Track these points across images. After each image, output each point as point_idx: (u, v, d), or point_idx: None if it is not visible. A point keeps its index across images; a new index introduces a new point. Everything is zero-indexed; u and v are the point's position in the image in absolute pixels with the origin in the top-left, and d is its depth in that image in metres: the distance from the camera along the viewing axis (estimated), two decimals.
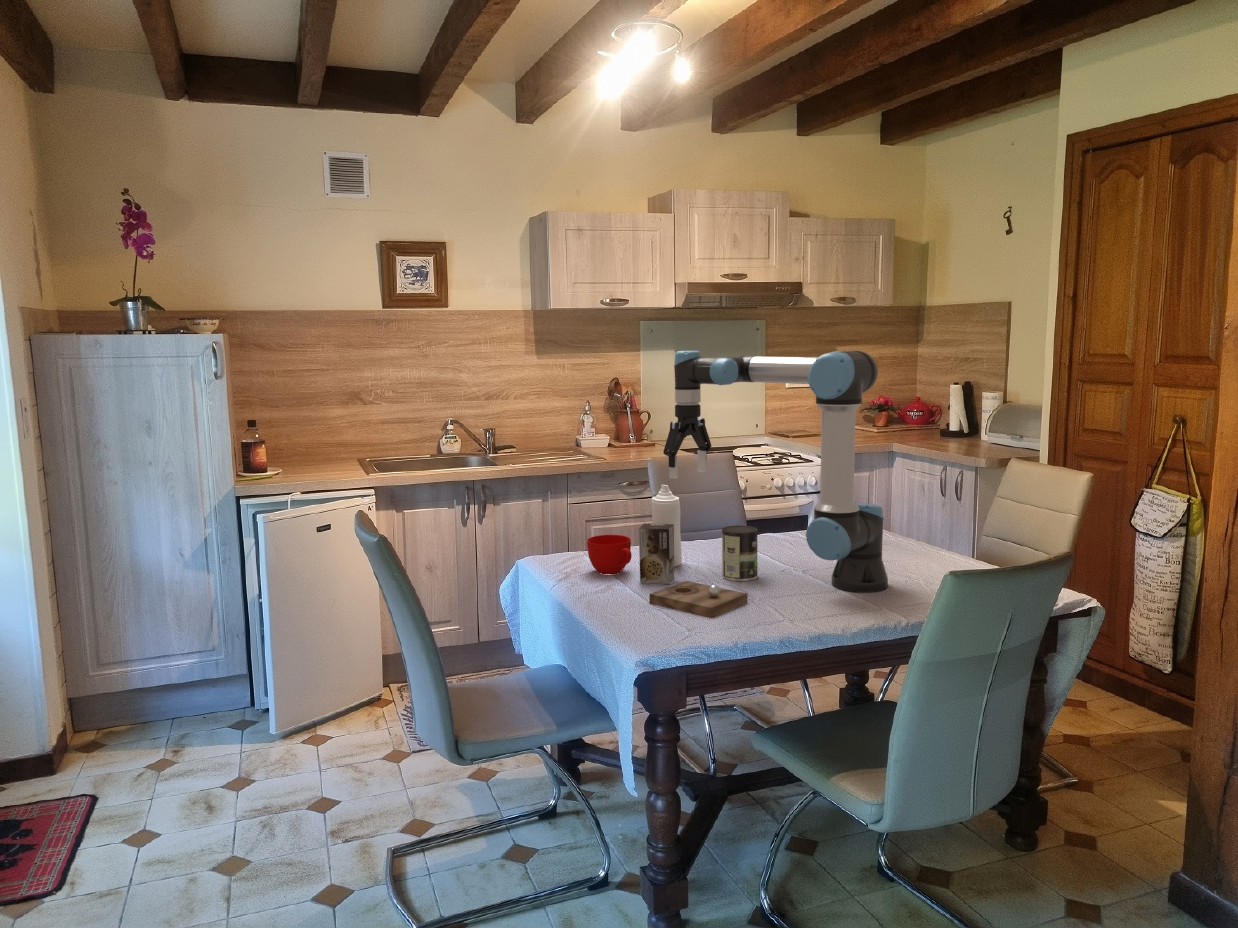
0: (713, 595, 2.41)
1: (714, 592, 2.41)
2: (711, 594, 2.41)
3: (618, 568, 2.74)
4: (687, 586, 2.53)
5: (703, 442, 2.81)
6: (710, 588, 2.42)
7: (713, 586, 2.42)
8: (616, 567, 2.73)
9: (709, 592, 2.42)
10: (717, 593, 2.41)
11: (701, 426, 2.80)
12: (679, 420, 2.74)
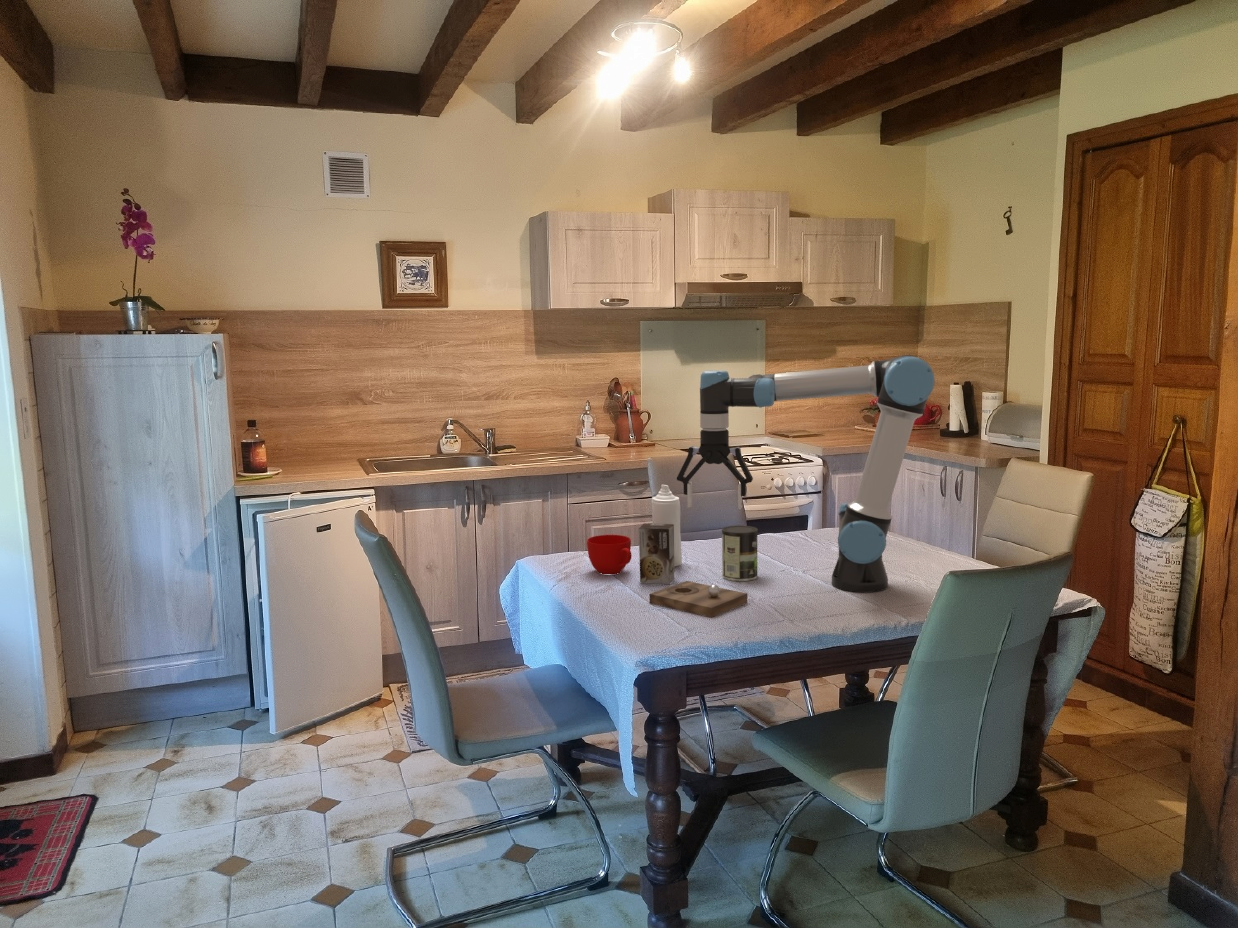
0: (713, 595, 2.41)
1: (714, 592, 2.41)
2: (711, 594, 2.41)
3: (618, 568, 2.74)
4: (687, 586, 2.53)
5: (736, 474, 2.49)
6: (710, 588, 2.42)
7: (713, 586, 2.42)
8: (616, 567, 2.73)
9: (709, 592, 2.42)
10: (717, 593, 2.41)
11: (736, 456, 2.49)
12: None
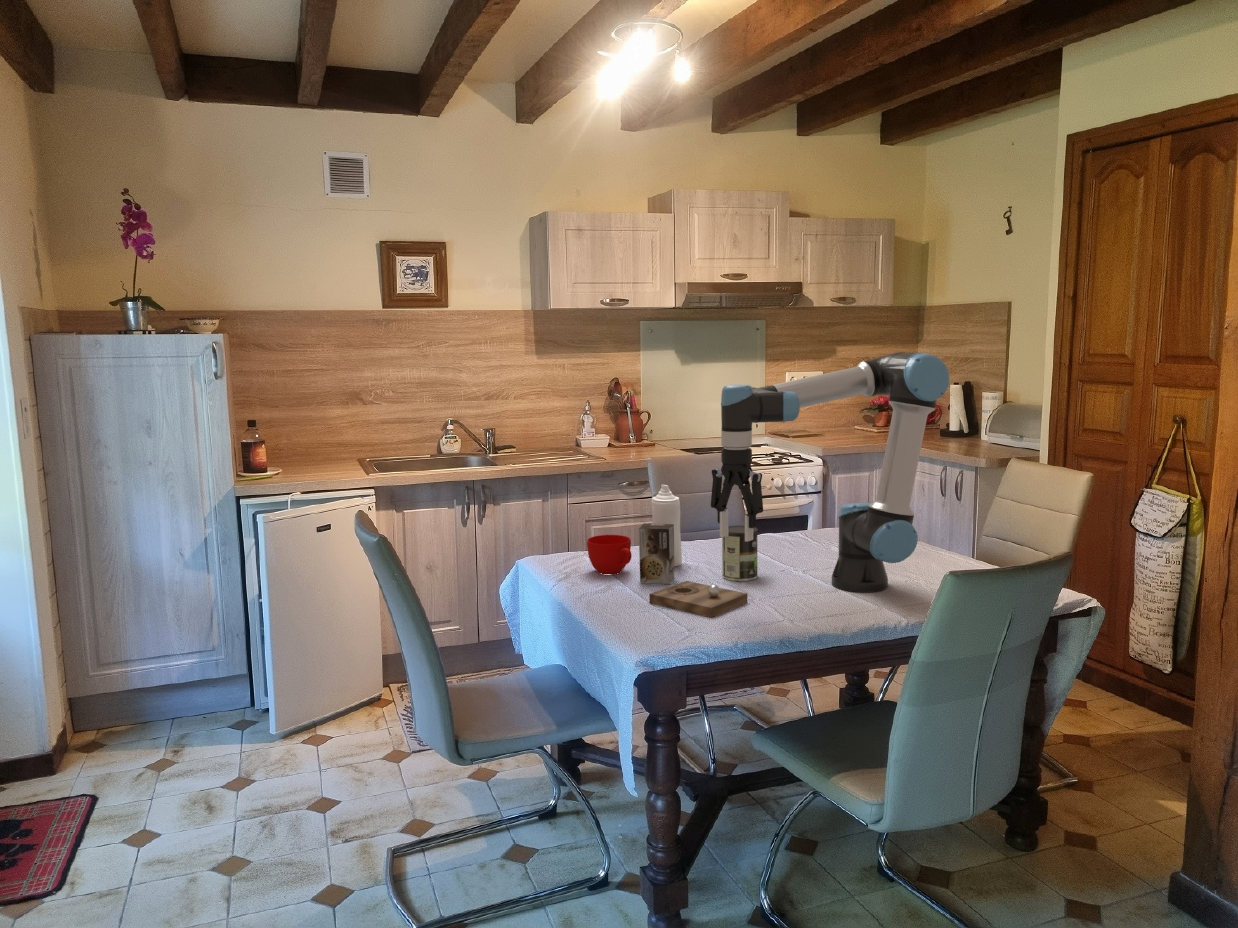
0: (713, 595, 2.41)
1: (714, 592, 2.41)
2: (711, 594, 2.41)
3: (618, 568, 2.74)
4: (687, 586, 2.53)
5: (746, 502, 2.31)
6: (710, 588, 2.42)
7: (713, 586, 2.42)
8: (616, 567, 2.73)
9: (709, 592, 2.42)
10: (717, 593, 2.41)
11: None
12: None
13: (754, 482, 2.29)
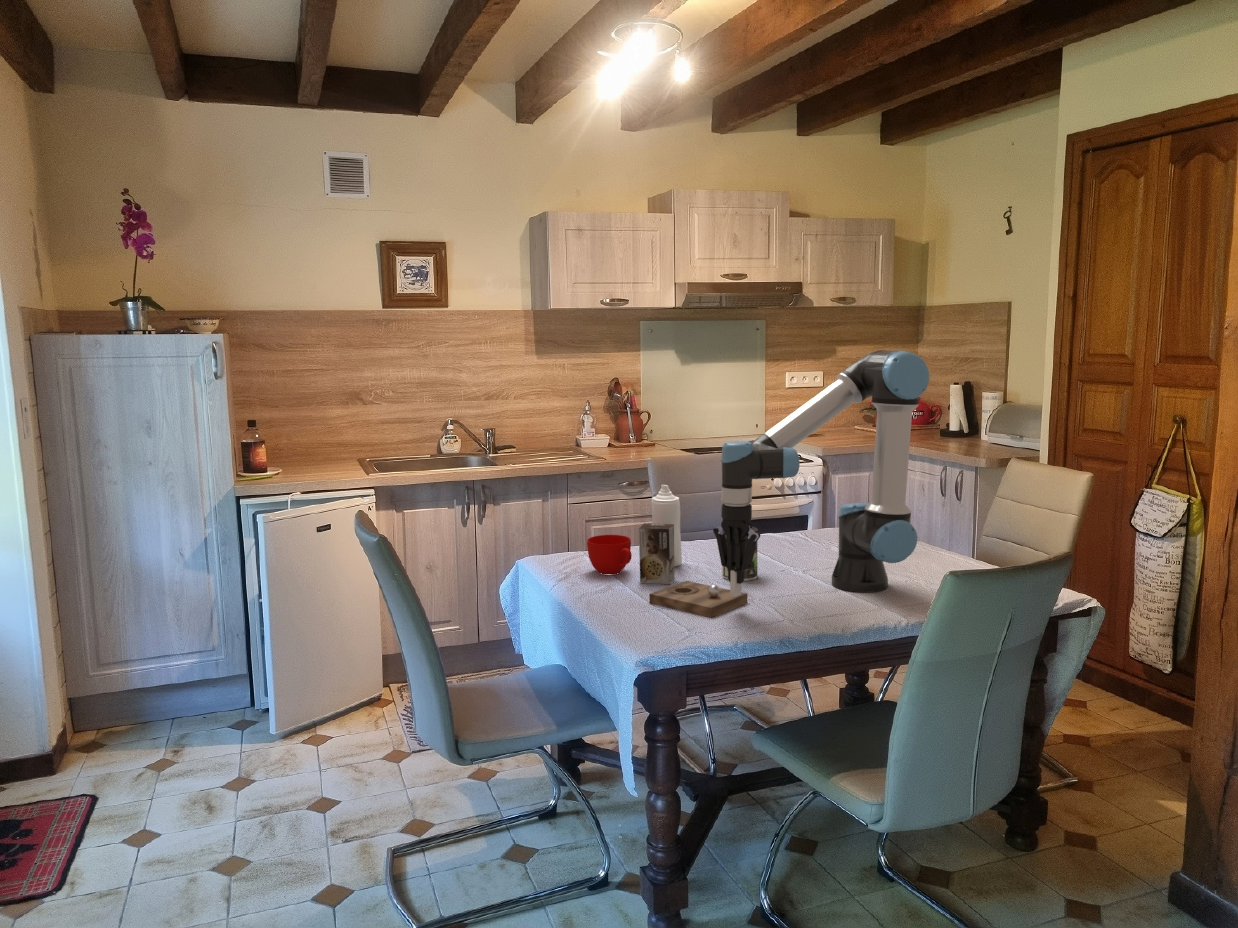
0: (713, 595, 2.41)
1: (714, 592, 2.41)
2: (711, 594, 2.41)
3: (618, 568, 2.74)
4: (687, 586, 2.53)
5: (737, 558, 2.35)
6: (710, 588, 2.42)
7: (713, 586, 2.42)
8: (616, 567, 2.73)
9: (709, 592, 2.42)
10: (717, 593, 2.41)
11: None
12: None
13: (750, 542, 2.32)
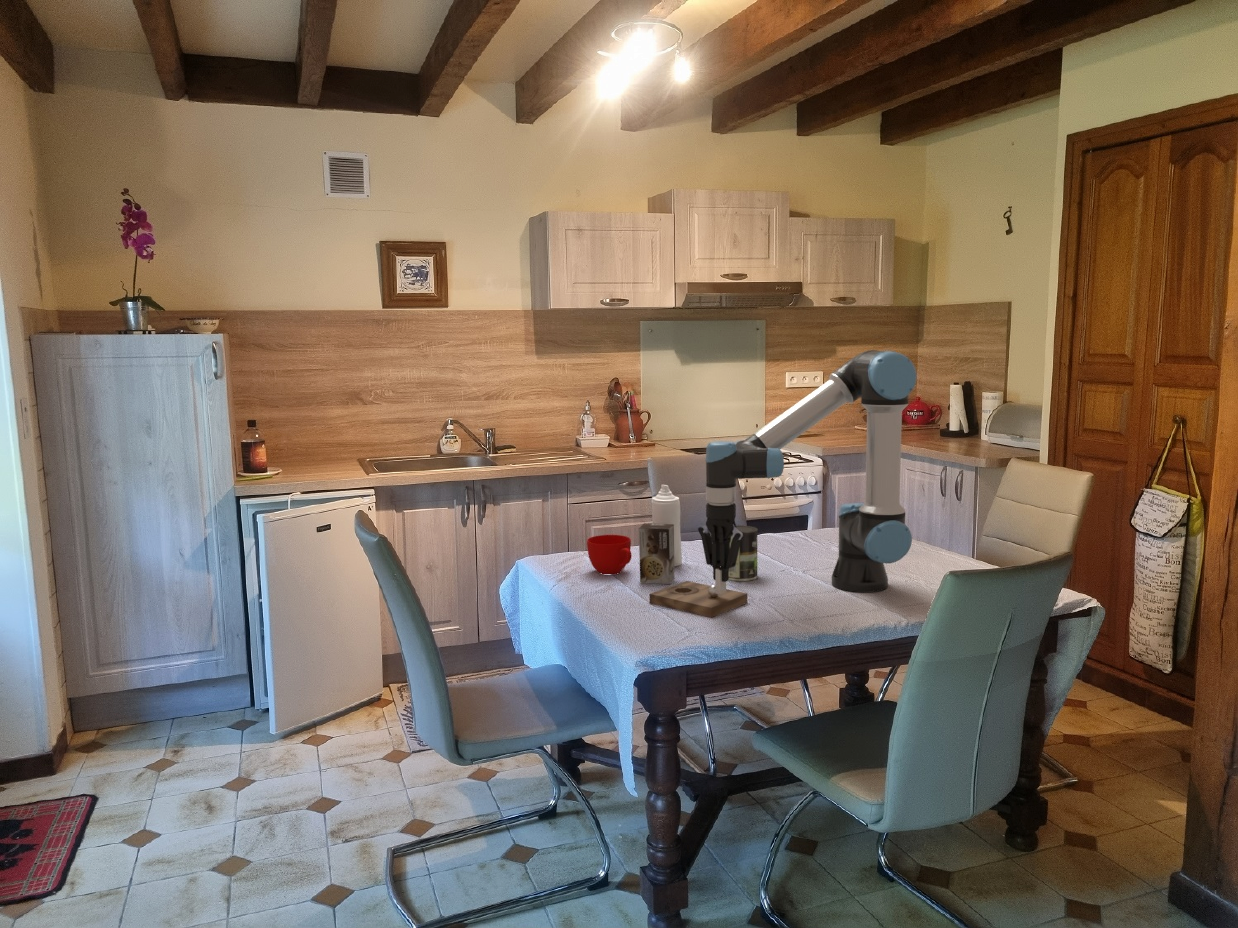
0: (713, 595, 2.41)
1: (714, 592, 2.41)
2: (711, 594, 2.41)
3: (618, 568, 2.74)
4: (687, 586, 2.53)
5: (722, 557, 2.38)
6: (710, 588, 2.42)
7: (713, 586, 2.42)
8: (616, 567, 2.73)
9: (709, 592, 2.42)
10: None
11: None
12: None
13: (735, 540, 2.35)
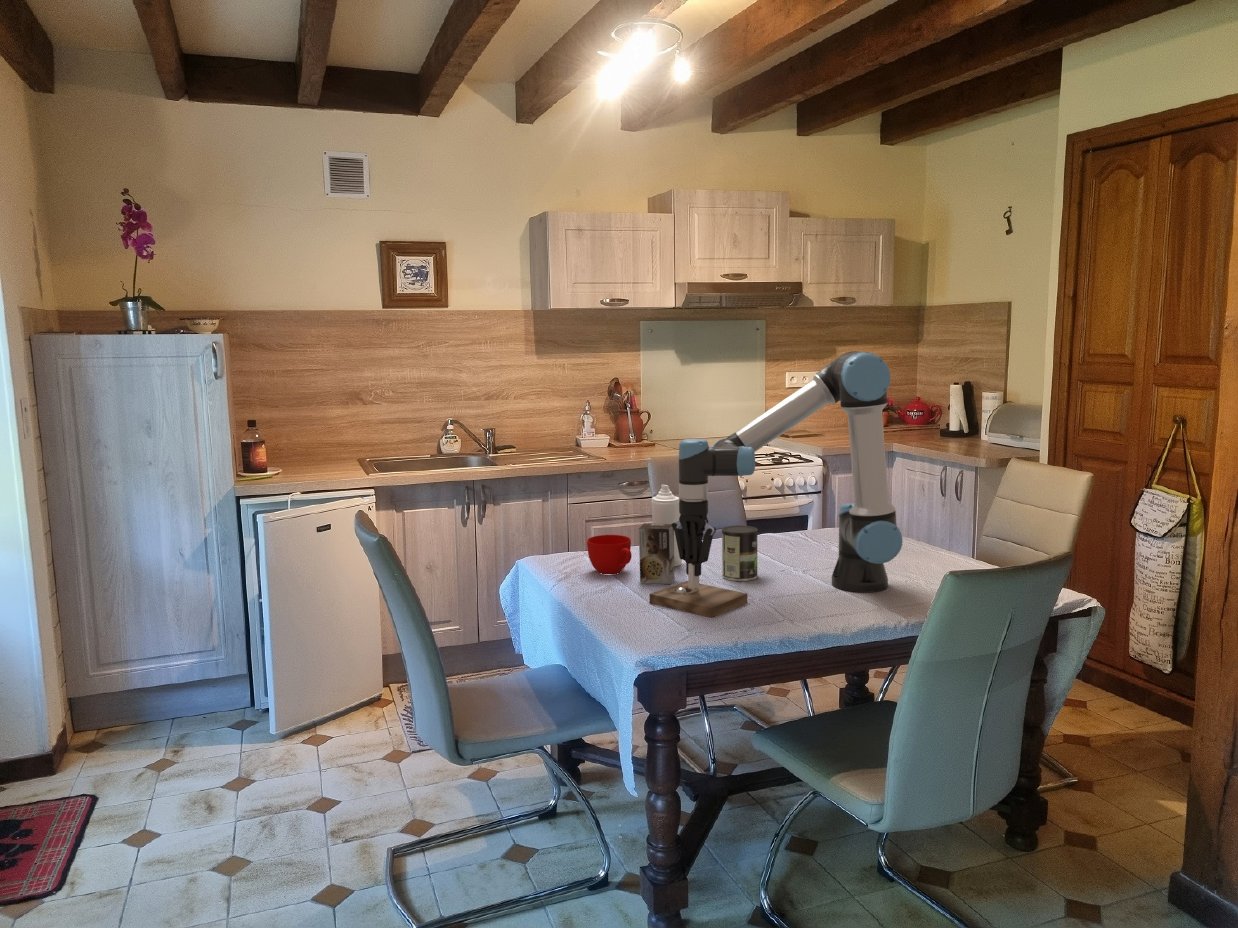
0: None
1: None
2: None
3: (618, 568, 2.74)
4: (687, 586, 2.53)
5: (695, 552, 2.44)
6: (676, 591, 2.49)
7: (677, 588, 2.50)
8: (616, 567, 2.73)
9: None
10: (683, 592, 2.49)
11: None
12: None
13: (706, 535, 2.40)
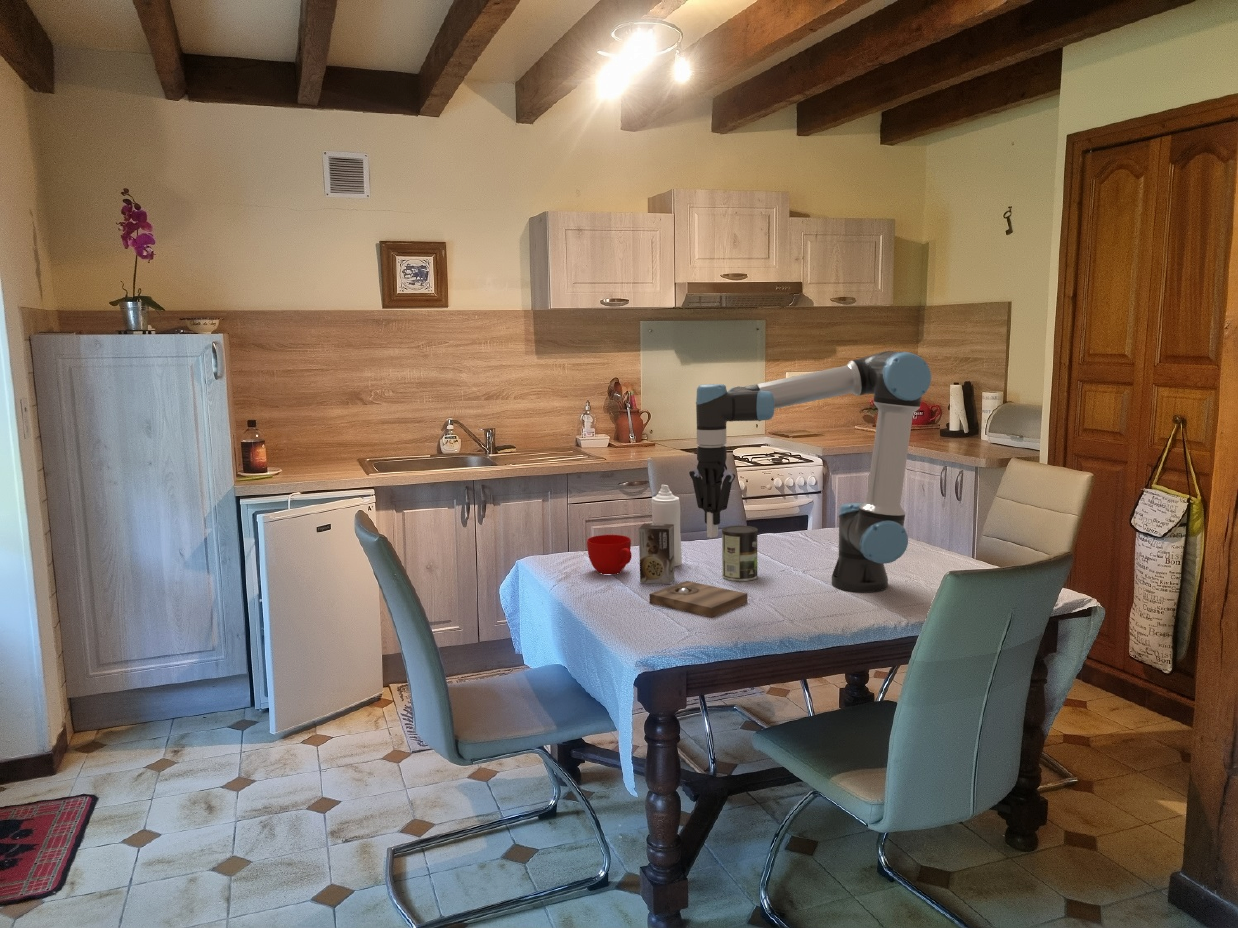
0: None
1: None
2: None
3: (618, 568, 2.74)
4: (687, 586, 2.53)
5: (713, 500, 2.38)
6: (679, 591, 2.48)
7: (682, 589, 2.49)
8: (616, 567, 2.73)
9: None
10: None
11: None
12: None
13: (725, 482, 2.35)
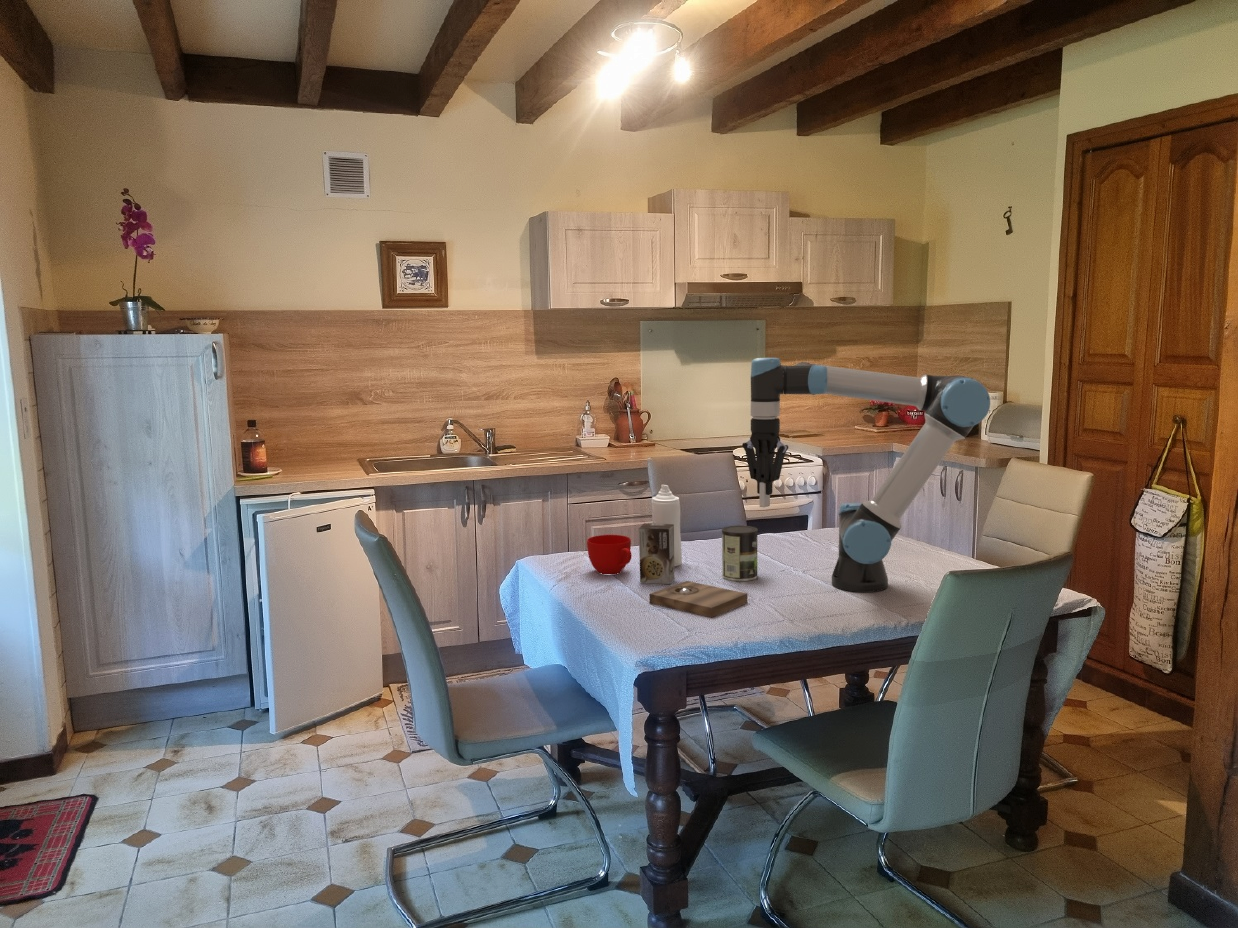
0: None
1: None
2: None
3: (618, 568, 2.74)
4: (687, 586, 2.53)
5: (766, 470, 2.45)
6: (681, 591, 2.48)
7: (684, 590, 2.48)
8: (616, 567, 2.73)
9: None
10: None
11: None
12: None
13: (779, 453, 2.42)
